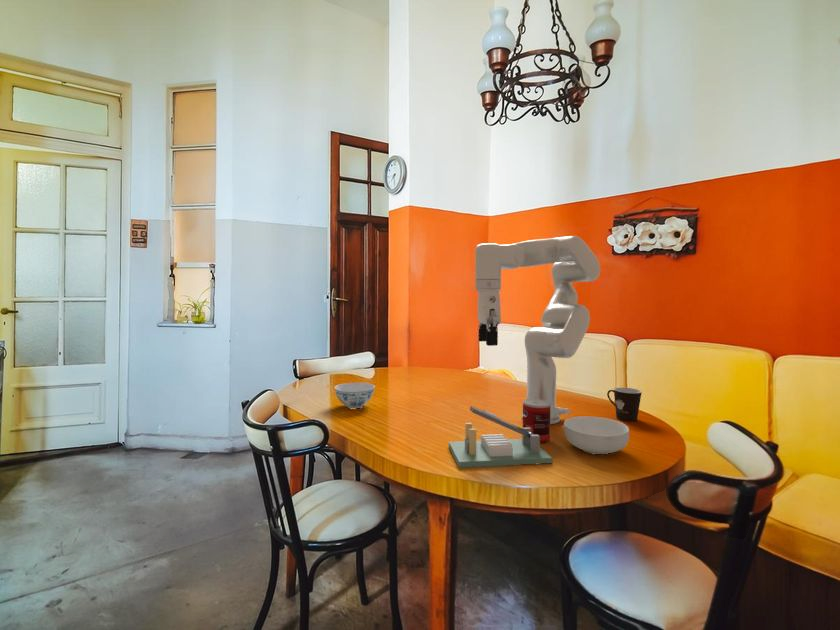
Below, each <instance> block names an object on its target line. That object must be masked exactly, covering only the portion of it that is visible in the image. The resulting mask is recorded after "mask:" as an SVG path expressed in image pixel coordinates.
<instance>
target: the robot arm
mask: <svg viewBox="0 0 840 630" xmlns="http://www.w3.org/2000/svg"><path fill="white" fill-rule="evenodd" d="M474 252H475V253H474V254H475V255H474V257H475V260H474V261H475V263H474V264H475V265H474V270H475V277H474V278H475V279H474V286H475V287H474V288H475V289H474V290H475V291H476V292H477V291H478V292H477V320H478V342H485V343H486V346H488V347H489V346H498V343H499V342H498V337H499V336H498V334H499V332H498V331H499V329H498V328H499V327H498V326H499V325H500V324H502V315H501V313H502V311H501V309H502V308H501V295H500V291H501V290H502V270H503V271H505V270H515V269H518V268H528V267H529V268H530V267H537V266H539V267H540V266H543V265H544V266H545V265H550V264H553V265H552V266H551V267H552V268H551V277H552V280H553V287H554V291H553V294H552V297H551V299H550V300H549V302H548V303H547V305H546V307H545V309H544V311H543V313H542V315H541V319H540V320H541V325H542V326H537V327H532V328H530V329H529V330H528V331H527V332H526V334H525V335H524V347H525V348H524V349H525V353H526V362H527V366H526V368H527V369H526V371H527V372H526V373H527V374H526V400H527V399H540V400H545V401H548V402H549V403H550V425H554V424H558V423H560V421H561V417H560V416H561V415H569V414H570V409H569V408H568V407H567V408H563V407H559V406H556V401H557V400H556V399H557V397H556V396H557V366H556V364H555V361H554V359H553V358H557V359H570V358H572V357H573V356H574V355H575V354H576V352H577V351H578V349H579V347H580V345H581V343H582V342H583V339H584V337H585V335H586V334H587V331H588V329H589V327H590V321H591V315H590V314H591V313H590V311H589V309H588V308H587V307H586V305H582V304H579V303H578V300H579V296H578V292H577V291H576V289H575V288H574V286H573V284H572V283H581V282H582V283H587V282H594V281H595V280H597V279H598V278H599V276H600V274H601V265H600V261H599V259H598V258H597V256H596V255H595V254H594V252H593V251H592V249H591V248H590V247H589V245H588V244H587V243H586V242H585V241H584V239H582V238H581V237H580V236H577V235H569V236H560V237H550V238H541V239H532V240H531V239H530V240H525V241H520V242H516V243H511V244H510V243H509V244H498V243H480V244H477V245H476V247H475V251H474ZM501 292H502V291H501ZM521 419H522V420H523V412H522V414H521Z"/></svg>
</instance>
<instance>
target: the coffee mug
mask: <svg viewBox="0 0 840 630" xmlns="http://www.w3.org/2000/svg"><path fill="white" fill-rule="evenodd" d="M611 392H612V393H613V394H614V401H613V400H612V399H611V397H610V393H611ZM606 396H607V398H608V400H609V401H610V403H611V404H612V405H613V406H614V407H615V417H616V420H619V421H623V422H627V421H628V422H629V423H633V422H637V421H638V418H639V417H638V416H639V410H640V406H641V400H642V399H641V398H642V390H640V389H638V388H632V387H614V388H613V389H609V390H608V391H607V393H606Z"/></svg>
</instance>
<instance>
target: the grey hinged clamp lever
mask: <svg viewBox="0 0 840 630" xmlns="http://www.w3.org/2000/svg"><path fill="white" fill-rule="evenodd" d="M469 411H470V412H471V413H473V414H475V415H476V416H479V417H482V418H484V419H486V420H489V421H491V422H492V423H495V424H497V425H499V426H502V427H504V428H506V429H509V430H511V431H513V432H515V433H518V434H519V435H524V436H526V437H529V438H530V435H534V434H533V433H532V432H531V431H530V430H524V429H523V427H522V428H521V427H519V426H518V425H515V424H513V423H510V422H509V421H505V420H504V419H502V418H500V417H499V416H497V414H495V413H493V412H490V411H489V410H486V409H483V410H481V409H479V408H478V407H477V408H476V407H475V406H473V405H471V406H470V407H469Z"/></svg>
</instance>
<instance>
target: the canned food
mask: <svg viewBox="0 0 840 630" xmlns="http://www.w3.org/2000/svg"><path fill="white" fill-rule="evenodd" d="M522 413H523V419H522V429H523V428H526V427H530V428H531V432H532V433H533V434H534V435H537V434H538V435H539V436H540V440H539V442H545V443H547V442H546V441H548V440H550V438H551V424H550V403H549V402H548V401H545V400H540V399H527V398H526V399H523V402H522ZM548 442H549V441H548Z"/></svg>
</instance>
